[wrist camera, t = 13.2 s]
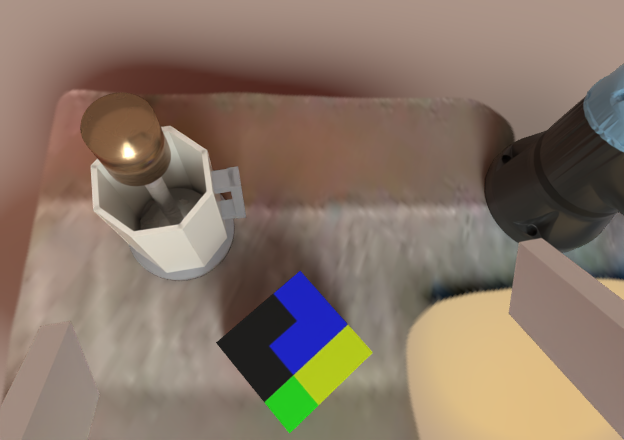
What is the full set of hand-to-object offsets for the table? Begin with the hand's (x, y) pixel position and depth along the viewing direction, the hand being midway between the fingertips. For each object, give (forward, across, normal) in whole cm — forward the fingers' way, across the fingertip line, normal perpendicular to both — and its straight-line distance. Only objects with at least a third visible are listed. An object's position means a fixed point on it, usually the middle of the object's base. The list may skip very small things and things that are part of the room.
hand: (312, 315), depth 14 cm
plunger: (+38, -9, -15) cm, 42 cm away
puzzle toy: (+29, +1, -28) cm, 40 cm away
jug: (+40, -9, -16) cm, 44 cm away
